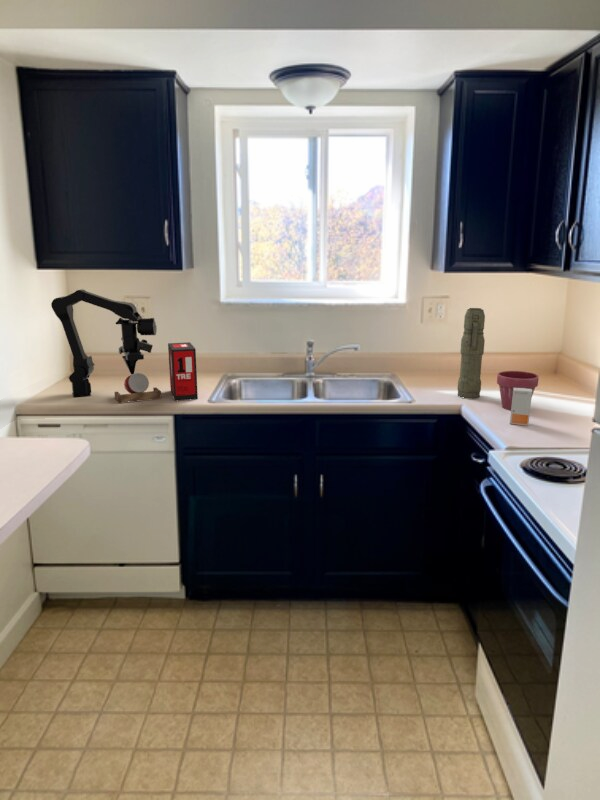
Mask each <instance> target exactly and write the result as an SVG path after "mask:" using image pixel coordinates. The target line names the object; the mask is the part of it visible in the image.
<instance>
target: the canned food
mask: <svg viewBox="0 0 600 800" xmlns="http://www.w3.org/2000/svg"><path fill="white" fill-rule="evenodd" d="M123 385H124V389H125V390H126V391H127V392H128V394H132V393H141V392H147V390H148V388H149V386H150V381H149V378H148V376H146V375H145V374H144V373H142V372H134V374H130V375H128V376H127V377H126V378H125V380H124V383H123Z"/></svg>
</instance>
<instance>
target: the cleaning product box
mask: <svg viewBox="0 0 600 800" xmlns="http://www.w3.org/2000/svg"><path fill="white" fill-rule="evenodd" d="M167 347H168V366H169V383H170V385H169V387H170V392H171V394H172V397H174V398H173V400H174V401H175V402H176V401H177V400H178V401H188V400H189V401H191V400H198V399H199V396H198V394H199V393H198V377H197V376H198V375H197V373H198V371H197V355H196V354H197V351H196V347H195V346H194V345H193V344H192V343H191V342H170V343H168V344H167ZM190 399H191V400H190Z"/></svg>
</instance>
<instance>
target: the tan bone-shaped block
mask: <svg viewBox="0 0 600 800" xmlns="http://www.w3.org/2000/svg"><path fill="white" fill-rule="evenodd" d="M160 398H161V399H162V393H161V390H160V389H159V388H157V387H153V388H152V391H151V390H150V391H144V392H141V393H132V394H131V393H123V394H121V393H120V392H119V391H114V400H115V401H116V402H117V403H118V404H123V403H122V402H126V403H129V402H128V401H135V402H138V401H137V400H143V401H149V399H152V400H159V399H160ZM161 399H160V400H161Z"/></svg>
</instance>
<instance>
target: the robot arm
mask: <svg viewBox="0 0 600 800" xmlns="http://www.w3.org/2000/svg"><path fill="white" fill-rule="evenodd" d="M80 302H84V303H87V304H90V305H93V306H96V307H98V308H103V309H105V310H108V311H110V312H112V313H113V314H114V315H117V316H118V317H119V318H118V320H117V321H116V322H115V325H120V329H121V338H120V340H121V341H122V346H121V345H120V347H118V354H119V355H122V354H123V355H122V356H121V358H122V359H123V361H124V363H125V365H126V367H127V370H128V371H129V373H130V375H132V374H134V373H135V370H136V366H137V365H136V364H137V363H138V361H140V360H144V359H145V358H144V356H145V355H144V353H143V352H141V351H144V352H146V353H149V354H151V353H152V349H153V344H151V343H148V340H147V339H141V340H140V338H139V337H138V334H140V336H156V335H157V330H158V329H157V325H156V321H155V317H149V318H143V316H142V315H141V314H140V313H139V312H138V311H137V307H136V306H135V303H132V302H128V301H127V302H126V301H122V300H121V301H120V300H114V299H110V298H108V297H105V296H101V295H99V294H96V293H93V292H89V291H87V290H85V289H83V288H82V289H77V290H75V291H74V292H72V293H70V294H67V295H65V296H59V297H56V298H54V299H53V300H52V302H51V304H50V305H51V308H52V311H53V312H54V314H55V316H56V317H57V318H58V319H59V320H60V322H61V325H62V327H63V331H64V332H65V333H64V334H65V337H66V340H67V342H68V345H69V348H70V351H71V354H72V365H73V366H72V367H73V372H72V373H71V374H70V375H69V376H68V380H69V382H70V383H71V390H72V392H71V395H72V396H73V398H78V397H88V396H91V395H92V394H91V393H92V385H91V382H90V379H89V378H90V376H91V374H92V373H93V372H94V370H95V367H94V366H95V365H96V364H95V363H94V361H93V356H92V355H90V356H88V355H87V354H86V353H85V350H84V346H83V344H82V341H81V338H80V335H79V332H78V329H77V326H76V323H75V320H74V305H76V304H78V303H80Z"/></svg>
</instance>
